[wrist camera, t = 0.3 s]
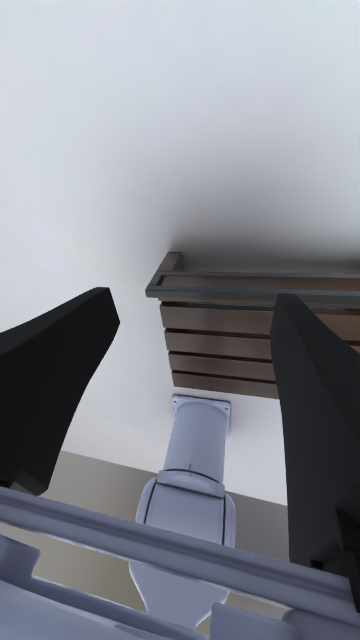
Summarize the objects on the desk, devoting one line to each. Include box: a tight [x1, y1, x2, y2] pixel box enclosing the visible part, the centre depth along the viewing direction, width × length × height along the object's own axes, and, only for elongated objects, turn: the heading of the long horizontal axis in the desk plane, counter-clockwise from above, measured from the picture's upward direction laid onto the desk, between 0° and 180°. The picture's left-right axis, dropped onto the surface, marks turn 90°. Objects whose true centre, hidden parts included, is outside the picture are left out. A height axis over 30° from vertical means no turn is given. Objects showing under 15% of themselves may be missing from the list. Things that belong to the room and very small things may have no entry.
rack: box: [145, 252, 360, 399], centre depth 20 cm, size 13×16×6 cm
